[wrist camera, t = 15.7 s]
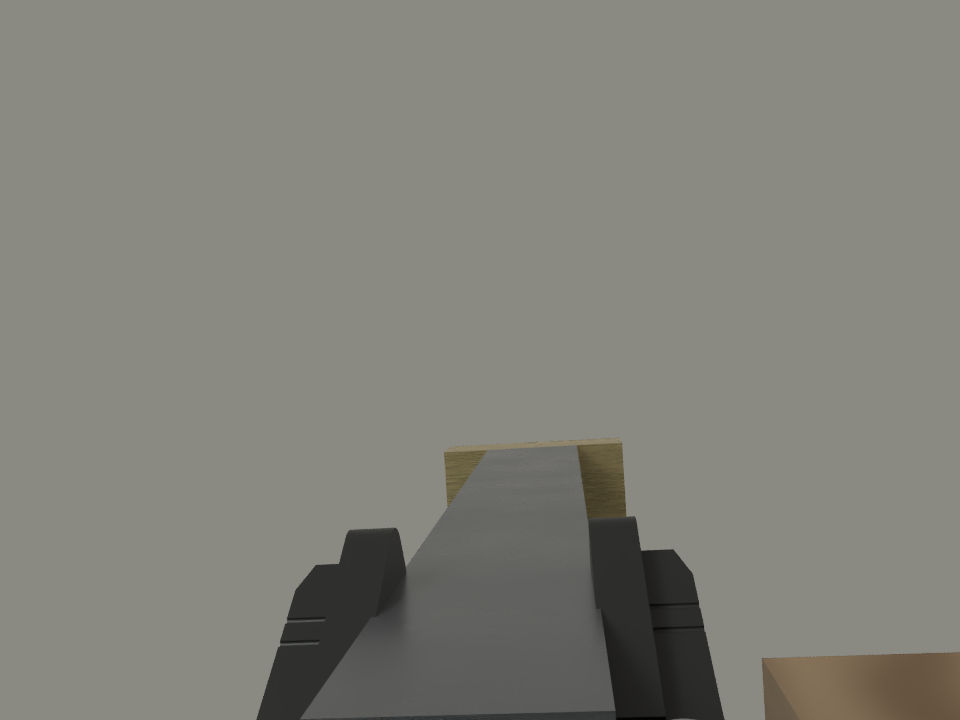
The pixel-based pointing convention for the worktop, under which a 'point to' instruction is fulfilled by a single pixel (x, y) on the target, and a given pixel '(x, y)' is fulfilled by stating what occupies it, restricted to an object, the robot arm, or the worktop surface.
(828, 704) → the brown wooden tall block
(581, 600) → the grey and tan bar
